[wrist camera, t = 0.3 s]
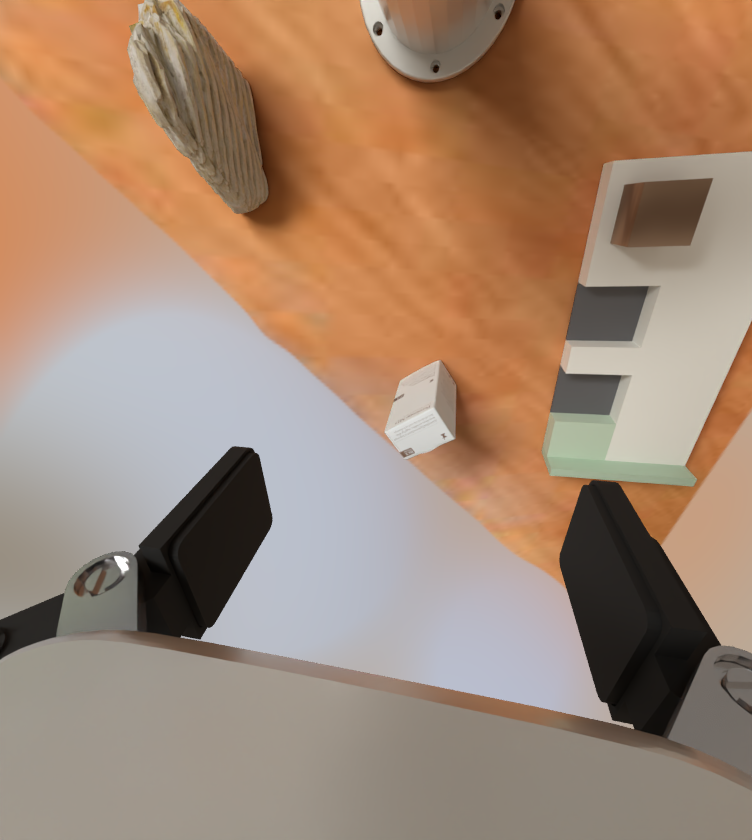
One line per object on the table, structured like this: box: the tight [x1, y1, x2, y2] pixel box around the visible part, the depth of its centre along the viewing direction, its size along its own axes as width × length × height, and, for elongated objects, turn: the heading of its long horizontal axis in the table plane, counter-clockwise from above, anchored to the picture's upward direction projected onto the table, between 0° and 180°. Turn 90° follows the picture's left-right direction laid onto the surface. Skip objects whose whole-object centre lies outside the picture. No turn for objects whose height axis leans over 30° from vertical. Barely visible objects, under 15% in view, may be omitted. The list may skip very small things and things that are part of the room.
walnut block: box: [610, 178, 713, 247], centre depth 30 cm, size 4×4×4 cm
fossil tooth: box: [127, 0, 268, 214], centre depth 32 cm, size 12×6×15 cm
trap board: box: [542, 151, 752, 486], centre depth 37 cm, size 31×15×5 cm, turn 3°
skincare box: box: [385, 360, 456, 460], centre depth 41 cm, size 6×4×12 cm
